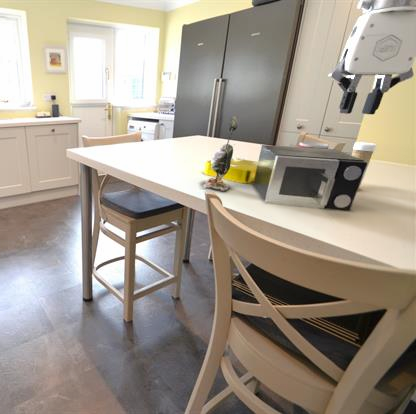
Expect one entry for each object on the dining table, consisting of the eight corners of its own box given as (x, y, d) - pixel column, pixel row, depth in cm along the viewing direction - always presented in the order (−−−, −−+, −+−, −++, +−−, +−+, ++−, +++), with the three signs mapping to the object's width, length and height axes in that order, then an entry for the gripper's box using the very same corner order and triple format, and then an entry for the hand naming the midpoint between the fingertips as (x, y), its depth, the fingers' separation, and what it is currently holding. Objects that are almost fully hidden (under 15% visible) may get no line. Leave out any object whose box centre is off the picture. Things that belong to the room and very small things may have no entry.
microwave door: (335, 219, 62) (354, 167, 58) (272, 212, 65) (285, 162, 61) (320, 206, 69) (336, 159, 65) (264, 200, 72) (275, 155, 68)
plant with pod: (235, 184, 85) (249, 115, 77) (223, 194, 77) (238, 117, 69) (208, 179, 90) (219, 113, 82) (194, 188, 81) (205, 115, 74)
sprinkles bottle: (335, 187, 85) (351, 141, 80) (347, 186, 86) (363, 141, 81) (351, 192, 81) (368, 144, 75) (363, 191, 82) (381, 144, 77)
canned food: (288, 176, 95) (297, 143, 91) (294, 172, 100) (303, 140, 96) (315, 181, 90) (326, 146, 86) (320, 177, 95) (331, 143, 91)
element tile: (201, 174, 95) (203, 160, 94) (223, 167, 105) (225, 154, 103) (246, 184, 85) (249, 169, 83) (265, 176, 94) (269, 162, 93)
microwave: (351, 213, 66) (370, 162, 62) (266, 204, 70) (278, 156, 66) (321, 191, 81) (335, 149, 76) (252, 185, 85) (261, 144, 80)
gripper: (349, 2, 49) (317, 113, 56) (469, -4, 45) (419, 116, 52) (330, 13, 56) (303, 111, 63) (433, 9, 52) (392, 114, 59)
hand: (356, 112), depth 57 cm, fingers open, 3 cm apart
